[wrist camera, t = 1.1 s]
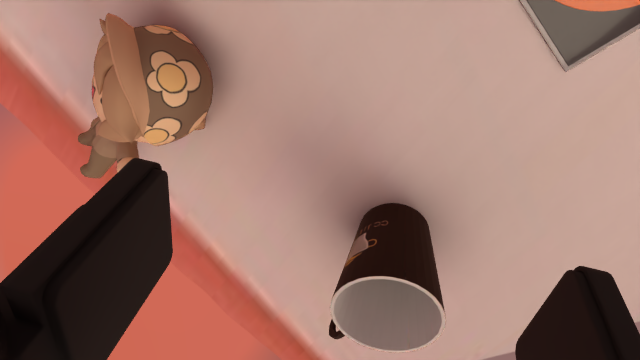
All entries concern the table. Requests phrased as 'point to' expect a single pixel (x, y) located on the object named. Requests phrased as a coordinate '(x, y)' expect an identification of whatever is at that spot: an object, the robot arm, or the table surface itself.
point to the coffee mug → (389, 284)
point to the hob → (582, 25)
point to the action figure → (143, 92)
